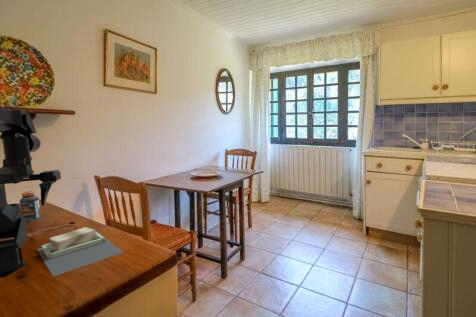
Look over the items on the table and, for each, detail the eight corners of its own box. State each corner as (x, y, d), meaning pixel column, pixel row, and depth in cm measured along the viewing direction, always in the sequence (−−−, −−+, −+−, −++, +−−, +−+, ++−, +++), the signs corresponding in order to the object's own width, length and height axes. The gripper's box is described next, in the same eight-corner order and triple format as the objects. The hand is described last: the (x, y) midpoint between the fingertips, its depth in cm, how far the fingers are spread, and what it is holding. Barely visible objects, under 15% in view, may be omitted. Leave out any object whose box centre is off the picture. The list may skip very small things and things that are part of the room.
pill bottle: (18, 222, 104) (14, 194, 102) (28, 217, 110) (25, 190, 108) (35, 221, 104) (31, 193, 103) (44, 216, 110) (40, 189, 109)
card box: (59, 254, 72) (57, 242, 72) (50, 250, 76) (49, 238, 75) (96, 241, 80) (95, 229, 80) (87, 237, 84) (86, 226, 83)
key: (26, 241, 87) (78, 227, 97) (25, 238, 87) (78, 225, 97) (24, 234, 91) (75, 222, 101) (24, 232, 91) (75, 220, 101)
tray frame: (105, 241, 80) (105, 238, 80) (48, 259, 70) (47, 255, 70) (95, 234, 86) (95, 230, 86) (41, 249, 76) (41, 245, 76)
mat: (124, 253, 72) (124, 252, 72) (53, 278, 61) (53, 276, 61) (97, 233, 88) (97, 232, 88) (37, 250, 77) (36, 249, 77)
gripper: (-43, 159, 66) (-33, 221, 68) (46, 154, 72) (53, 210, 74) (-18, 156, 77) (-10, 209, 78) (58, 151, 83) (64, 201, 84)
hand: (24, 207), depth 78 cm, fingers open, 9 cm apart
